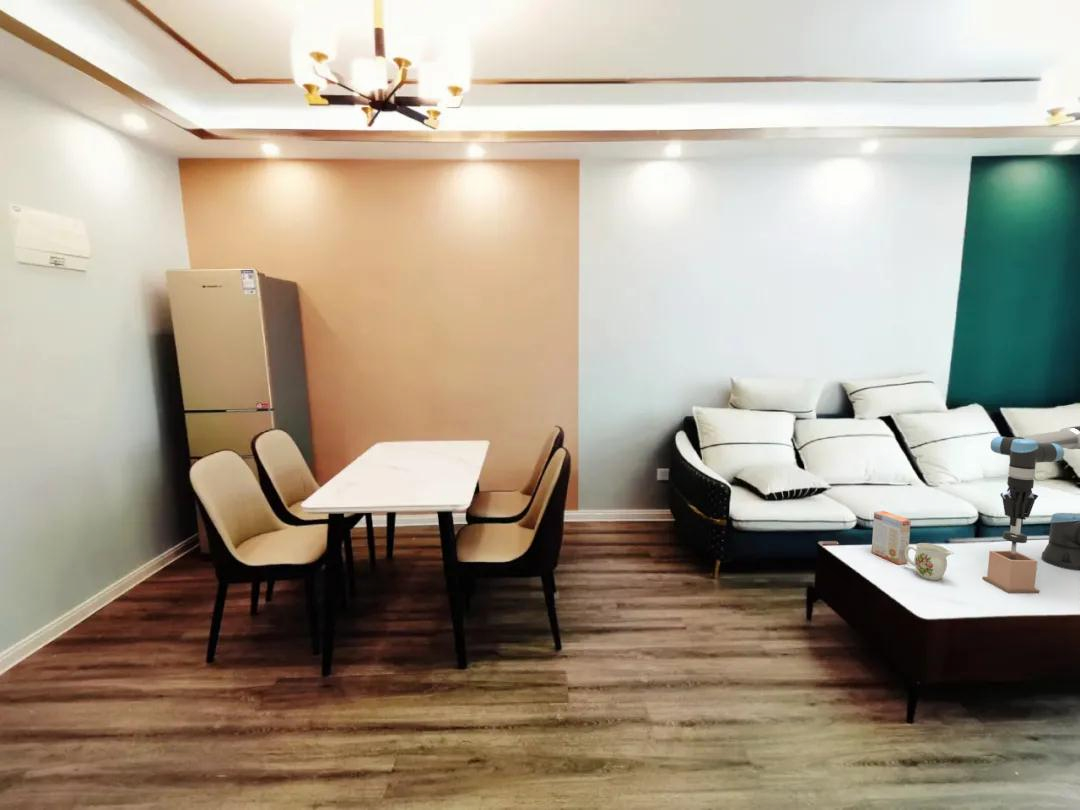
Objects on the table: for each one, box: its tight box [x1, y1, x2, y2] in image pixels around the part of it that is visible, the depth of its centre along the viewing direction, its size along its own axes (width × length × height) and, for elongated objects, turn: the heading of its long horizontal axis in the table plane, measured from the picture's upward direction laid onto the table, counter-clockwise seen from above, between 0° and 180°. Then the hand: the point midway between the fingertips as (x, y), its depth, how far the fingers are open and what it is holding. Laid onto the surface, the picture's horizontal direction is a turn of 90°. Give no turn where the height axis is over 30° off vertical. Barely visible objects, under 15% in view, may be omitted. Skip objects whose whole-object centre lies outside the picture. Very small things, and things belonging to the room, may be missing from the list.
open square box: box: [982, 550, 1040, 594], centre depth 200 cm, size 12×12×13 cm
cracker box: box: [871, 510, 912, 565], centre depth 228 cm, size 14×6×21 cm, turn 12°
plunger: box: [1002, 530, 1028, 560], centre depth 199 cm, size 8×8×15 cm
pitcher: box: [905, 542, 955, 581], centre depth 210 cm, size 11×18×14 cm, turn 25°
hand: (1015, 533), depth 198 cm, fingers closed
